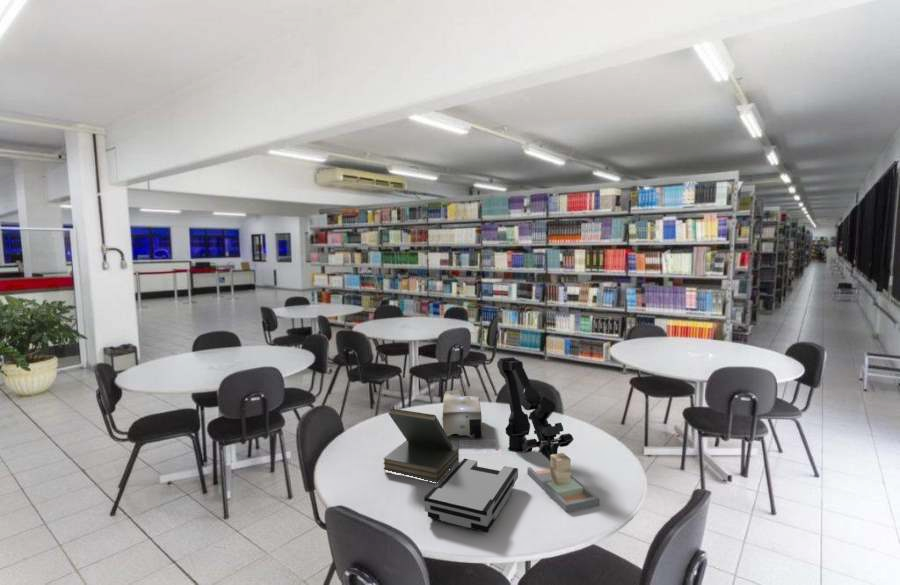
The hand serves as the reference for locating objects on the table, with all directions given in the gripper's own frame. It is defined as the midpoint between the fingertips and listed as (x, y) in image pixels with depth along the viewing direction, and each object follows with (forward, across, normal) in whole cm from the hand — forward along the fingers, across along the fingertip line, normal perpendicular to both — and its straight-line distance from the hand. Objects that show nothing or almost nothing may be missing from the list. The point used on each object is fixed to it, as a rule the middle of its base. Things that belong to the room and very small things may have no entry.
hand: (556, 465), depth 166 cm
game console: (+6, -32, +4) cm, 33 cm away
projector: (-40, -16, +49) cm, 65 cm away
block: (+5, 0, +1) cm, 5 cm away
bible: (-16, -42, +26) cm, 52 cm away
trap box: (+7, 0, +3) cm, 8 cm away
